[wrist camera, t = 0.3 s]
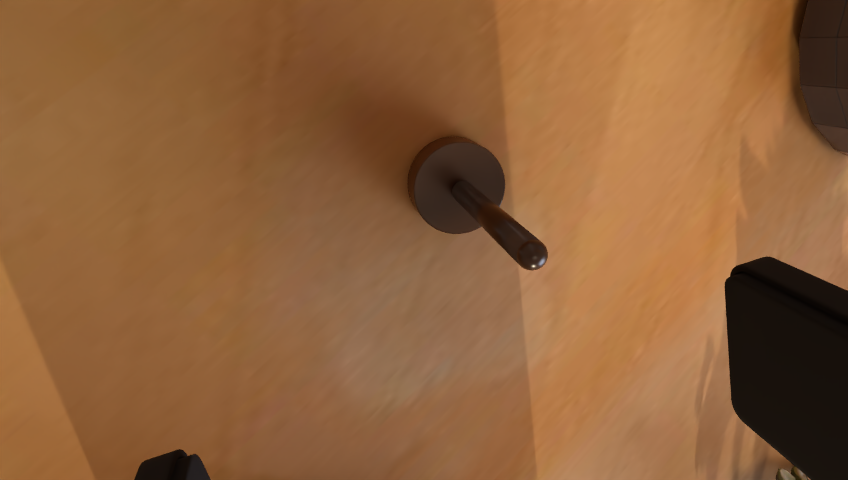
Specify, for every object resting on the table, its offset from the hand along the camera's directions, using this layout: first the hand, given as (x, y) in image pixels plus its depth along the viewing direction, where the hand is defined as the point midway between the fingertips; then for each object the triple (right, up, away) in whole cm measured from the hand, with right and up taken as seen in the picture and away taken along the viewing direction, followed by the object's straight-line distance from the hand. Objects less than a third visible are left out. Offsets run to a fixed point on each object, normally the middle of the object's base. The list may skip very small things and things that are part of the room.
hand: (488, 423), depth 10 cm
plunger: (+1, +7, +24) cm, 25 cm away
